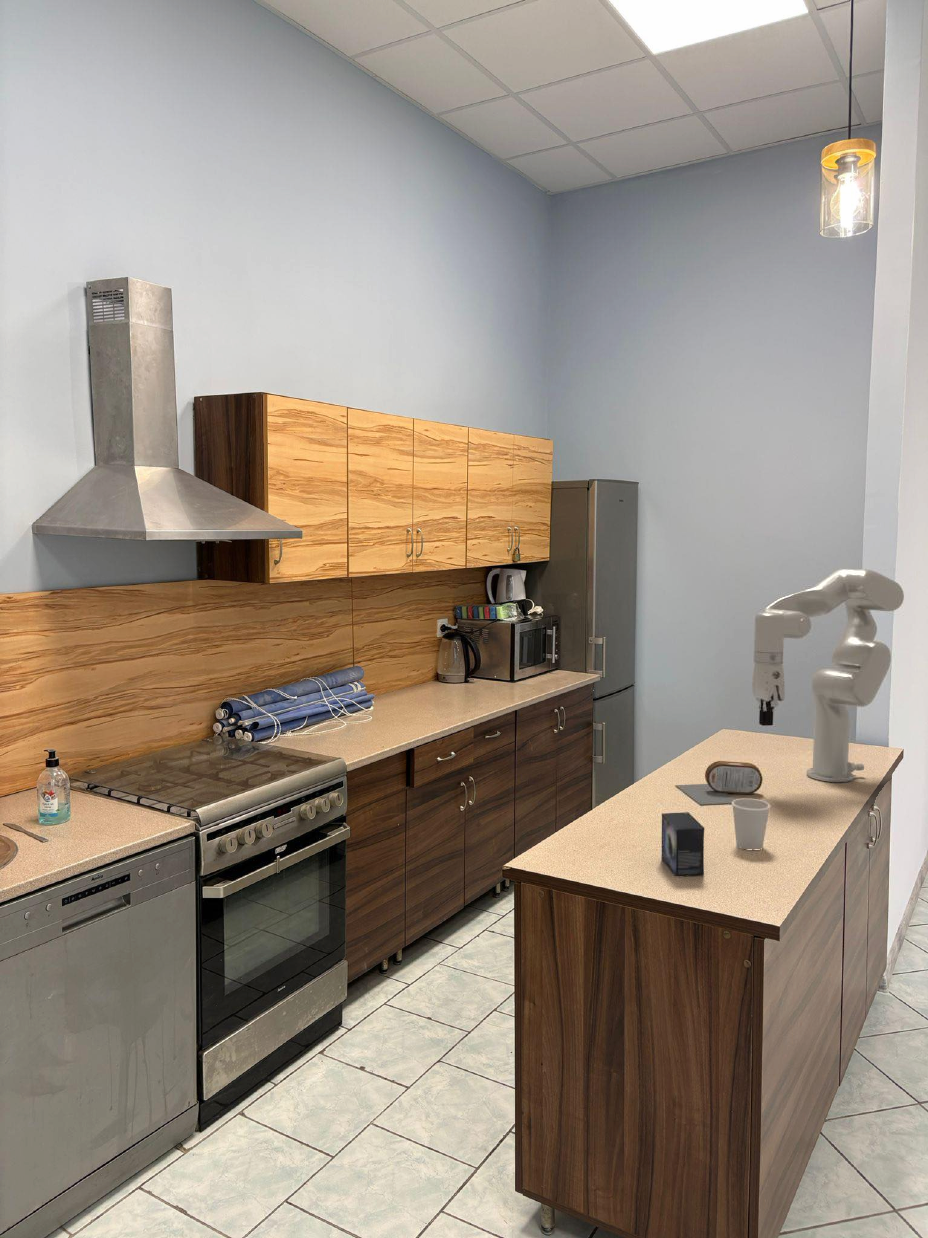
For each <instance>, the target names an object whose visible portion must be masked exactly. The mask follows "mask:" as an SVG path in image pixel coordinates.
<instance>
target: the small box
mask: <svg viewBox="0 0 928 1238" xmlns="http://www.w3.org/2000/svg"><path fill="white" fill-rule="evenodd" d="M704 839H705V827H704V826H703V825H702V824H701V823H700V822H699V821H698V820H697V819H696V818H695V817H694V816H693V815H692V814H691V813H690V812H688V811H684V812H683V811H682V812H670V813H669V812H667V813H666V812H665V813H664V812H663V813H661V857H660V858H661V860H662V861H663V863H664V864H665V865H666V866H667V867H668V869H669V870H670V871H671V872H672V874H673V875H674V877H676V876H683V877H700V875H701V877H703V876H702V875H704V876H705V869H704V868H705V867H704V864H705V863H704V862H705V860H704V859H705V857H704V856H705V854H704V853H705V849H704V847H705V841H704Z"/></svg>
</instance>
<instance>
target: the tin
mask: <svg viewBox="0 0 928 1238" xmlns="http://www.w3.org/2000/svg"><path fill="white" fill-rule="evenodd" d="M704 778H705V779H704V780H705V782H706V784H708V785H709V786H710V787H711V788H712V789H713V790H714V791H717V792H722V793H727V794H741V795H751V794H754V793H756V792H758V791H759V790H760V788H761V786H762V785H763V775H762V773H761V770H760V769H759V767H758V766H757V765H755V764H754V763H751V762H741V761H727V760H717V761H714V762H712V763H711V764H709V765H708V766H707V767H706V770H705V773H704Z"/></svg>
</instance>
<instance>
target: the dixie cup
mask: <svg viewBox="0 0 928 1238" xmlns="http://www.w3.org/2000/svg"><path fill="white" fill-rule="evenodd" d="M735 799H736V798H735ZM731 805H732V811H733V812H732V813H733V823H734V831H735V832H734V834H735V844H736V847H737V846H738V847H741V848H743V849H752V850H754V849H761V848H762V847H763V846H764V842H765V837H766V831H767V823H768V817H769V812H770V809H771V804H769V802H766V801H765V800H761V799H757V798H750V797H749V798H743V797H742V798H737V799H736V800H734V801H732V804H731ZM738 847H737V848H738ZM763 848H764V847H763ZM763 848H762V849H763ZM743 849H742V850H743ZM762 849H761V850H762Z"/></svg>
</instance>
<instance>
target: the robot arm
mask: <svg viewBox="0 0 928 1238" xmlns="http://www.w3.org/2000/svg"><path fill="white" fill-rule="evenodd" d="M904 596H905V593H904V590H903V588H902V586H901V584H899V583H898V582H896V581H895V580H893V579H891V578H889V577H887V576H886V575H884V574H882V573H881V574H880V573H879V572H876V571H874V570H871V569H867V568H866V569H865V568H864V569H862V568H839V569H837V570H834V571H832V572H831V573H830V574H829V575H827V576H826V577H824V578H823V579H821V580H820V581H818V582H816V584H814V585H813V586H812V587H810V588H809V589H804V590H801V591H799V592H796V593H793V594H790V595H786V596H785V597H782V598H779V599H777V600H776V601H774V602H772V603H771V604H770V605H768V606H767V607H765V608H764V609H763V611H761V612H758V613H756V615H755V618H754V638H753V639H754V641H753V642H754V643H753V674H752V695H753V696H754V697H755V700H756V701H757V702H758V709H759V714H758V715H759V716H758V717H759V718H758V724H759V725H761V726H762V727H763V726H765V727H767V726H773V724H774V711H775V707H776V708H777V707H779V702H783V701H784V700H785V672H784V665H783V664H784V645H785V644H784V643H785V639H795V640H798V639H802V638H804V637H806V636H807V635H808V634H809V633H810V631H811V629H812V628H811V627H812V622H811V619H810V618H817V617H821V616H824V615H825V616H826V615H828V614H829V613H831V612H832V611H834V610H835V609H836V608H838V607H839V606H840V605H842V604H843V603H844V605H845V609H846V617H847V619H846V620H847V621H846V625H845V627H844V629H843V631H842V633H841V635H840V637H839V638H838V641H837V642H836V645H835V647H834V649H833V652H832V654H831V662H832V664H833V666H834V667H836V668H823V669H819V670H818V671H816V672H815V674H814V676H813V677H812V679H811V692H812V697H813V704H814V705H813V707H814V719H813V720H814V721H813V722H814V723H813V745H812V746H813V749H812V750H813V752H812V768H809V769H807V770H806V776H807V777H809V778H811V779H812V780H817V781H822V782H829V783H830V782H831V783H847V782H851V781H853V780H854V774H853V772H855V771H858V772H859V771H864V769H865V766H864V763H855V762H851V761H849V749H850V747H849V746H850V726H851V717H850V714H849V713H850V712H849V710H848V708H847V706H851V707H857V708H862V707H863V708H865V707H867V706H869V705H870V704H871V703H872V702H873V700H875V697H876V696H877V694H878V691H879V690H880V687H882V686H881V685H882V683H883V681H884V680H885V678H886V676H887V674H888V671H889V669H890V667H891V662H892V656H891V651H890V648H889V646H888V645H886V643H883V642H880V641H878V640H874V639H875V638H876V636H877V633H878V632H877V631H878V627H877V623H876V621H875V619H874V616H873V615H872V612H871V611H878V612H880V611H881V612H893V611H896V610H898V609H899V608H900V607H902V604H904V603H903V602H904V598H905V597H904ZM846 705H847V706H846Z"/></svg>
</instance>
